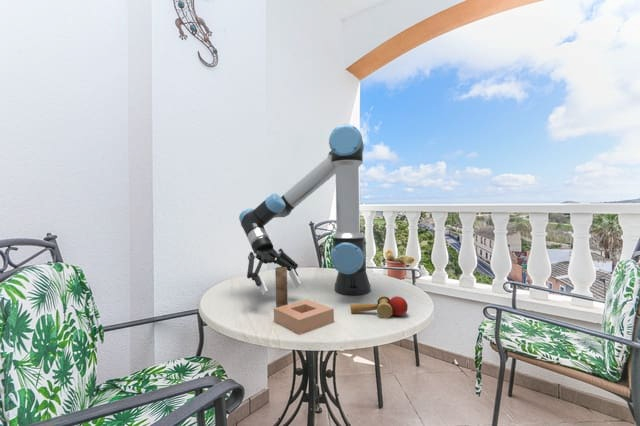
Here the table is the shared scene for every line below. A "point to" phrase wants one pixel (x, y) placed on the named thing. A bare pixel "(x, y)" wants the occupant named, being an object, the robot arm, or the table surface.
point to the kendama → (384, 306)
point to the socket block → (303, 316)
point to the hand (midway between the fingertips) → (282, 289)
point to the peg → (281, 286)
